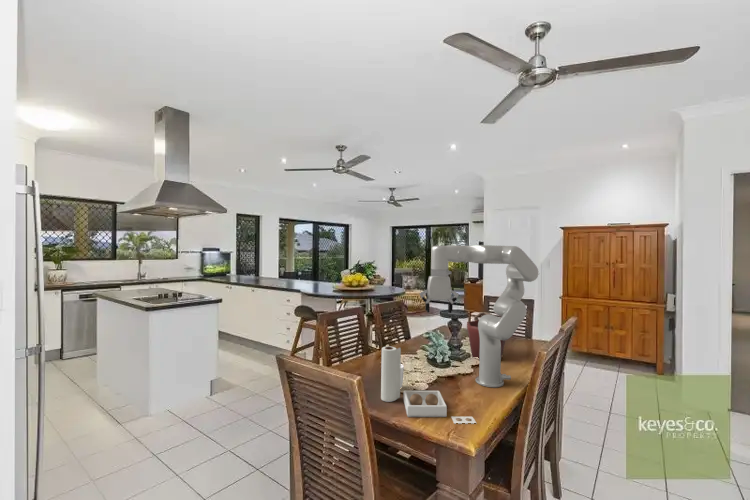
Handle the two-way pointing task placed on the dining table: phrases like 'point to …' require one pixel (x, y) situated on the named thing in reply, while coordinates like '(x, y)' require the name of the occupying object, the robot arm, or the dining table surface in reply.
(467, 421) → the card
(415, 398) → the walnut ball
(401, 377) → the white cup
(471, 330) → the bucket
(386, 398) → the paper towel roll
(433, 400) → the ball
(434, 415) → the bin
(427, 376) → the dining table surface
